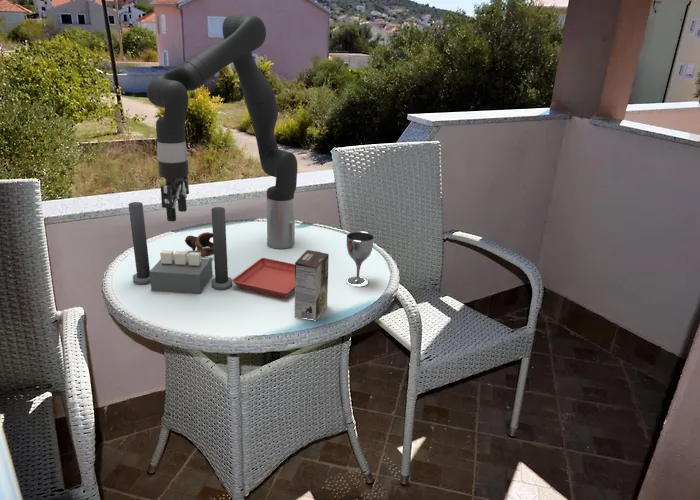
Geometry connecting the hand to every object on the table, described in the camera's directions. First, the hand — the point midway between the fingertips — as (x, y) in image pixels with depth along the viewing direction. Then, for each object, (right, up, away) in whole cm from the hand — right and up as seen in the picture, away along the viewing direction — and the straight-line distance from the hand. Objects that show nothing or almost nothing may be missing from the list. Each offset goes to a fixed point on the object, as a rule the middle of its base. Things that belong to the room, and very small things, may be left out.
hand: (177, 215), depth 144 cm
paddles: (-1, -13, +5) cm, 14 cm away
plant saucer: (+25, -20, +11) cm, 34 cm away
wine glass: (+50, -19, +14) cm, 56 cm away
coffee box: (+37, -26, -4) cm, 46 cm away
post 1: (-13, -18, +8) cm, 24 cm away
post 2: (+10, -20, +8) cm, 24 cm away
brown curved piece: (-1, -11, +29) cm, 31 cm away
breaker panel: (-1, -19, +8) cm, 21 cm away
